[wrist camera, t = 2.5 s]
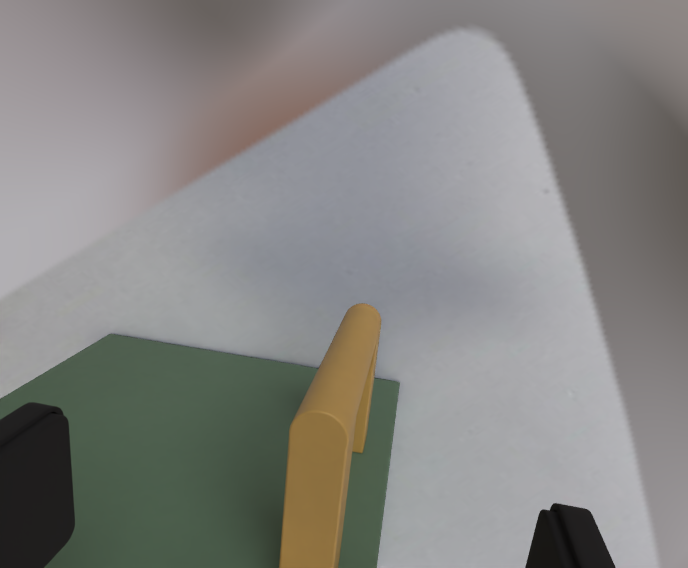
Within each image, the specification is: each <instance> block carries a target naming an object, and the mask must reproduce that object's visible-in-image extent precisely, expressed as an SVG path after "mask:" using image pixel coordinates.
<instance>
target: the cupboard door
mask: <svg viewBox="0 0 688 568" xmlns="http://www.w3.org/2000/svg"><path fill="white" fill-rule="evenodd" d="M380 328H381V317H380V314H379V313H378V311H377V310H376V309H375V308H374V307H372V306H371V305H368V304H363V303H362V304H356V305H354V306H352V307H351V308H349V309H348V311H347V312H346V314H345V316H344V318H343V320H342V322H341V324H340V326H339V328H338V330H337V332H336V334H335V336H334V338H333V340H332V343H331V345H330V347H329V349H328V351H327V353H326V355H325V357H324V359H323V361H322V363H321V365H320V367H319V369H318V368H312V367H306V366H300V365H294V364H288V363H282V362H276V361H270V360H264V359H258V358H252V357H246V356H240V355H234V354H228V353H222V352H216V351H210V350H204V349H198V348H192V347H186V346H180V345H174V344H168V343H162V342H156V341H150V340H144V339H138V338H132V337H126V336H120V335H114V334H109V335H107V336H106V337H104V338H102V339H101V340H99V341H97V342H96V343H94V344H92V345H91V346H89V347H87V348H85V349H84V350H82V351H80V352H79V353H77V354H75V355H74V356H72V357H70V358H69V359H67V360H65V361H64V362H62V363H60V364H58V365H57V366H55V367H53V368H52V369H50V370H48V371H47V372H45V373H43V374H42V375H40V376H38V377H36V378H35V379H33V380H31V381H30V382H28V383H26V384H25V385H23V386H21V387H20V388H18V389H16V390H15V391H13V392H11V393H9V394H8V395H6V396H4V397H3V398H1V399H0V419H2V418H3V417H5V416H7V415H8V414H10V413H11V412H13V411H15V410H16V409H18V408H19V407H21V406H23V405H24V404H27V403H29V402H35V403H41V404H46V405H51V406H56V407H59V408H61V410H62V411H63V415H64V416H66V417H67V419H68V422H69V435H70V450H71V466H72V481H73V497H74V513H75V527H74V531H73V533H72V536H71V538H70V539H69V541H68V542H67V543H66V545H65V546H64V547H63V548H62V549H61V550H60V551H59V552H58V553H57V554H56V555H55V557H54V558H53V559H52V560H51V561H50V562H49V563H48V564H47V565H46V566H45V567H44V568H377V560H378V552H379V544H380V536H381V528H382V520H383V512H384V505H385V497H386V489H387V481H388V473H389V465H390V457H391V449H392V441H393V433H394V425H395V417H396V409H397V401H398V393H399V385H400V383H399V382H396V381H390V380H384V379H378V378H374V375H375V367H376V360H377V352H378V344H379V336H380Z"/></svg>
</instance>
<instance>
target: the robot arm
mask: <svg viewBox="0 0 688 568" xmlns="http://www.w3.org/2000/svg"><path fill="white" fill-rule="evenodd" d="M74 527H75V513H74V497H73V481H72V466H71V450H70V435H69V422H68V419H67V417H66V416H64V415H63V411H62V410H61V408H59V407H56V406H51V405H46V404H41V403H35V402H29V403H27V404H24V405H23V406H21V407H19V408H18V409H16V410H15V411H13V412H11V413H10V414H8V415H7V416H5V417H3V418H2V419H0V568H44V567H45V566H46V565H47V564H48V563H49V562H50V561H51V560H52V559H53V558H54V557H55V555H56V554H57V553H58V552H59V551H60V550H61V549H62V548H63V547H64V546H65V545H66V543H67V542H68V541H69V539H70V538H71V536H72V533H73V531H74ZM525 568H615V565H614V563H613V561H612V559H611V556H610V554H609V552H608V550H607V547H606V545H605V543H604V541H603V538H602V536H601V534H600V532H599V529H598V527H597V525H596V523H595V520H594V518H593V516H592V514H591V512H590V511H589V510H587V509H583V508H578V507H573V506H568V505H563V504H557V503H555V504H553V505H552V506H551V509H550V511H549V510H541V511H540V513H539V516H538V520H537V524H536V528H535V532H534V536H533V540H532V544H531V548H530V552H529V555H528V559H527V563H526V567H525Z"/></svg>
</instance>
